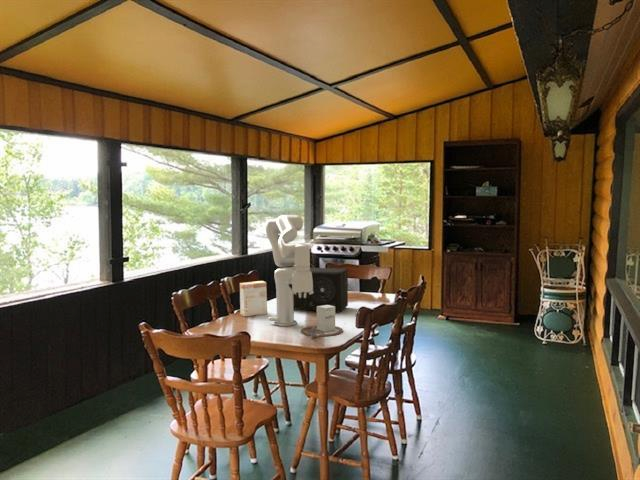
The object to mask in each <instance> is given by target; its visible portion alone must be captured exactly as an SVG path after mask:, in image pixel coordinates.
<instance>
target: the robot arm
mask: <svg viewBox="0 0 640 480" xmlns="http://www.w3.org/2000/svg"><path fill="white" fill-rule="evenodd" d="M303 226H304V220H303V218H302V217H301V216H300V215H299V214H282V215H279V216H278V217H277V218H274V219H269V220H267V221H266V223H265V233H266V236H267V239H268V240H269V243H270V245H271V251H272V256H273V261H274V264H275V265H276V266H277V267H278V268H276V270H274V275H273V276H274V283H275V289H276V292H275V293H276V294H275V295H276V297H275V298H276V315H275V316H273V317H272V316H269V317H268V321H270V322H273V324H274V325H275V326H281V327H289V326H290V327H291V326H295V325H297V320H296V319H295V311H294V310H295V309H294V294H296V295H298V296H299V298H300V304H301V306H305V304H306V297H307V296H308V295H310V294H313V293H314V292H313V279H312V273H311V272H310V268H311V263H310V262H311V254H310V249H311V248H310V246H309V245H308V244H306V243H305V242H296V243H295V242H293V241H295V240H296V239H297V238H298V232H299V231H301V230H302V229H303ZM292 242H293V243H292ZM289 284H292V289H291V288H290V287H289ZM302 292H304V297H303V296H302ZM307 292H308V293H307Z"/></svg>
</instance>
